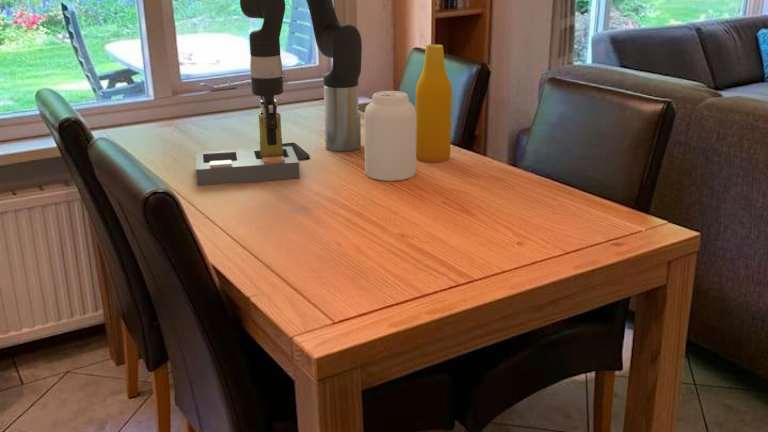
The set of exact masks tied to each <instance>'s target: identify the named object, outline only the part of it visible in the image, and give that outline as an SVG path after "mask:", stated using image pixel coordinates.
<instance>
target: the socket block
mask: <svg viewBox="0 0 768 432" xmlns="http://www.w3.org/2000/svg"><path fill="white" fill-rule="evenodd" d="M282 150H283V156H280V157H265V158H263V159H261V158H260V147H259V148H243V149H232V150H231V149H230V150H229V149H228V150H227V149H226V150H215V151H200V152H199V151H198V152H195V170H196V171H195V172H196V182H197V186H199V187H200V186H201V187H202V186H212V185H216V186H217V185H227V184H229V185H230V184H240V183H242V184H243V183H255V182H267V181H268V182H270V181H280V180H281V181H283V180H294V179H296V180H297V179H301V177H300V175H301V174H300V162H299V161H300V160H298V159H297V157H296V155H295V153H294V150H293V148H292V146H288V147H282Z"/></svg>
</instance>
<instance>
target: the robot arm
mask: <svg viewBox="0 0 768 432" xmlns="http://www.w3.org/2000/svg"><path fill="white" fill-rule="evenodd" d="M306 3H307V6H308V7H307V8H308V11H309V15H310V19H311V23H312V30H313V34H314V39H315V42H316V46H317V48H318V50H319V52H320V53H321V54H322V55H323V56H325V57H327V58H330V59H332V67H331V70H330V71H329V72H326V73H325V74H324V75H323V100H324V101H323V103H324V104H323V106H324V132H325V133H324V134H325V136H324V137H325V139H324V140H325V142H324V143H325V148H326V149H327V150H328V151H333V152H351V151H354V150H358V149H359V150H361V149H362V146H361V145H362V135H361V131H362V126H361V125H362V124H361V122H362V121H361V113H359V112H360V111H359V79H360V75H361V72H362V51H363V46H362V44H363V42H362V37H361V33H360V31H359V29H358V28H357V27H356V26H354V25H352V24H348V23H342V22H339V19H338V16H337V13H336V10H335V7H334V1H333V0H306ZM239 6H240V7H239V8H240V9H241V12H242V13H243V15H244V16H245V17H247V18H250V19H263V22H262V24H261V25H262V26H261V28H257V29H254V30H252V31H251V32H250V33H249V52H250V65H249V67H250V68H249V69H250V80H251V82H250V83H251V93H252V94H253V95H254V96H256V97H257V96H258V97H260V100H259V107H260V112H262V114H263V121H264V122H265V123H266V127H265V128H266V130H267V144H268V145H276V144H277V140H276V130H277V127H278V126H277V118H278V117H277V112H278V102H277V100H276V99H275V98H274V97H275V96H279V95H282V94H283V93H284V78H283V64H282V56H281V43H280V42H281V41H280V39H281V38H280V37H281V32H282V27H283V23H284V17H285V12H286V1H285V0H239ZM268 121H273V122H274V124H269V122H268Z"/></svg>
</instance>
